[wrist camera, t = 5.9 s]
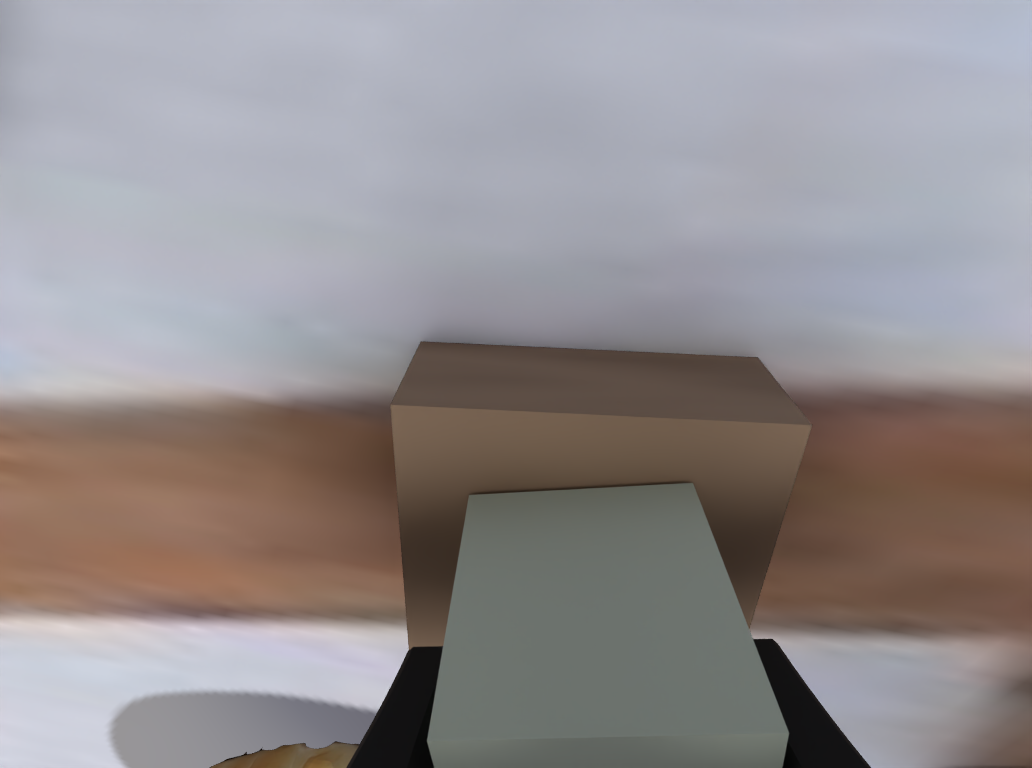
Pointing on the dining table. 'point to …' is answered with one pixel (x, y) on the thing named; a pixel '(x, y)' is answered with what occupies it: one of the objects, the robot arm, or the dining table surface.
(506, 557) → the green block
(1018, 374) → the dining table surface
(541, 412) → the base block
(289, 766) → the pastry
